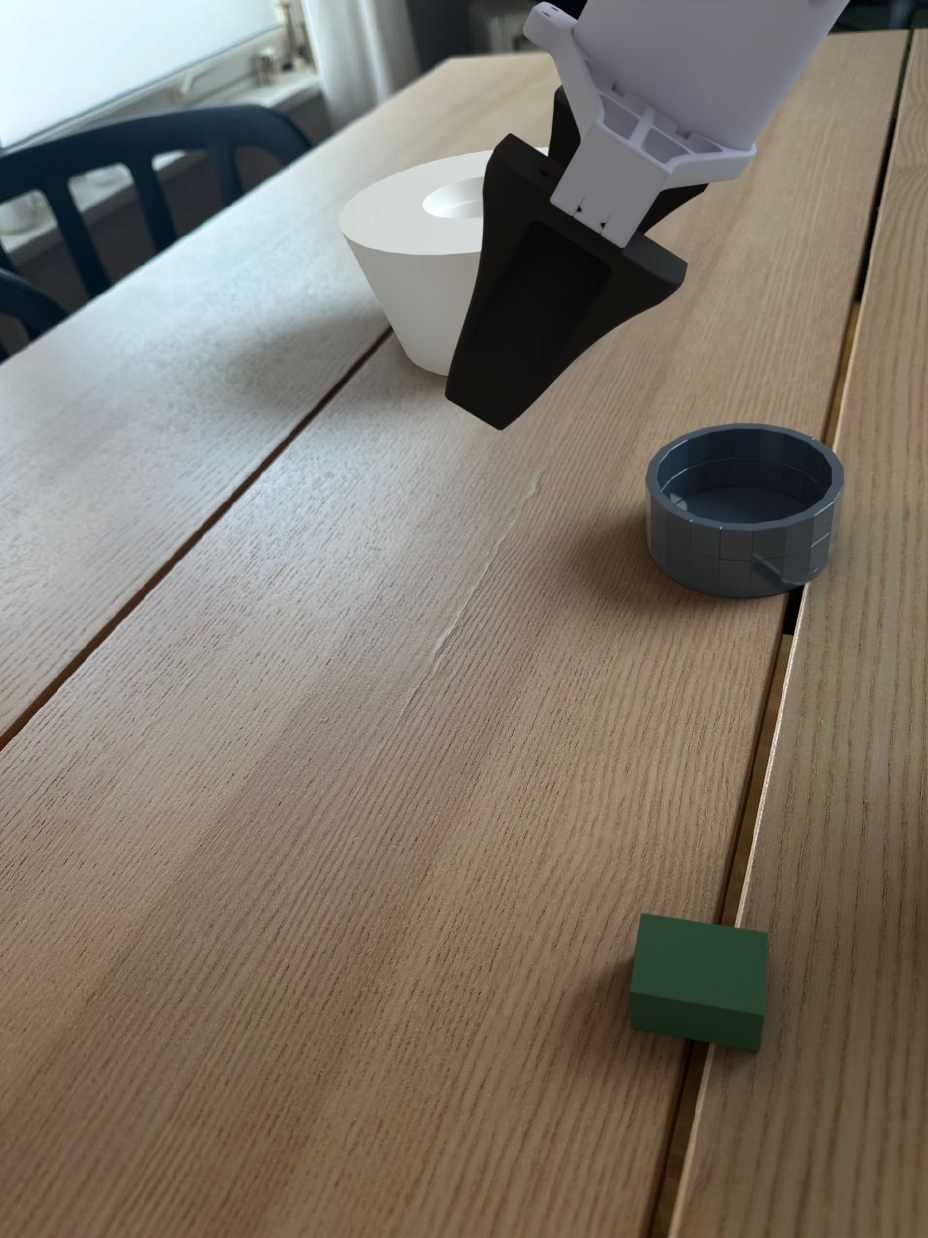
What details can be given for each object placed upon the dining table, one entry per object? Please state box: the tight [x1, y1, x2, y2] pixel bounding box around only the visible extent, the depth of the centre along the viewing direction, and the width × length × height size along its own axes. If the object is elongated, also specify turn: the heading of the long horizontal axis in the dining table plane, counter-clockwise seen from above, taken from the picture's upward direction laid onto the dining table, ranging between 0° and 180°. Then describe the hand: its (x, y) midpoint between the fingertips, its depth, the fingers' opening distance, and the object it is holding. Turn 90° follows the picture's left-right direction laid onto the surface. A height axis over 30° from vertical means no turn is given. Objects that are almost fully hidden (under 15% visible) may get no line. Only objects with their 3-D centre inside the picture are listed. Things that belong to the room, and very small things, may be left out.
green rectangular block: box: [628, 912, 769, 1053], centre depth 39 cm, size 5×4×3 cm
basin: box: [644, 422, 845, 599], centre depth 60 cm, size 11×11×5 cm
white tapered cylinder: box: [337, 146, 549, 377], centre depth 85 cm, size 24×24×12 cm
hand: (503, 359), depth 32 cm, fingers open, 7 cm apart
